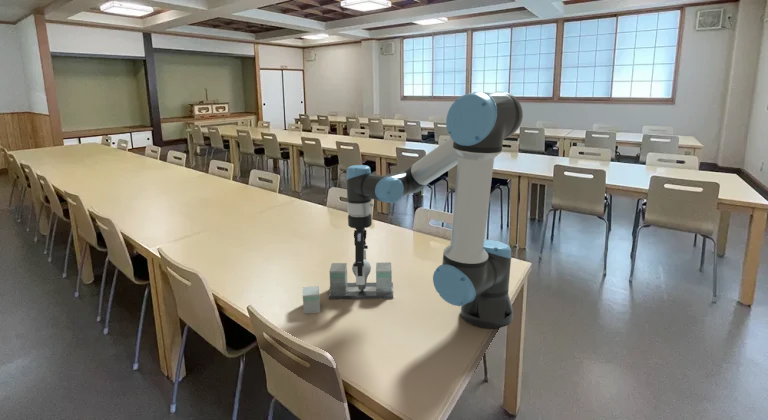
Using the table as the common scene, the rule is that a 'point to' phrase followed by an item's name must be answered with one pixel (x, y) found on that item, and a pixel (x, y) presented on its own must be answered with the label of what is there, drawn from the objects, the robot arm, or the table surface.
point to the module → (311, 299)
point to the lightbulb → (367, 270)
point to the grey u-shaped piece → (351, 291)
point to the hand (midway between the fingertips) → (361, 275)
